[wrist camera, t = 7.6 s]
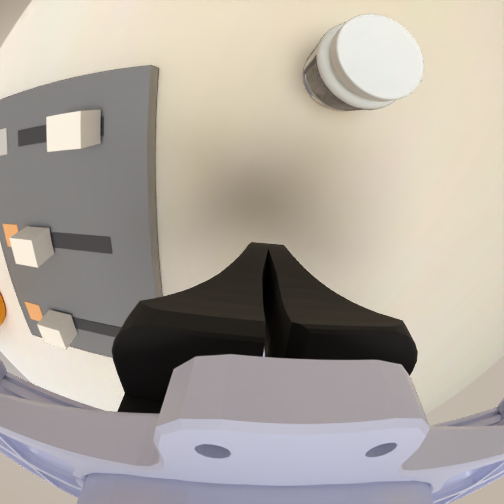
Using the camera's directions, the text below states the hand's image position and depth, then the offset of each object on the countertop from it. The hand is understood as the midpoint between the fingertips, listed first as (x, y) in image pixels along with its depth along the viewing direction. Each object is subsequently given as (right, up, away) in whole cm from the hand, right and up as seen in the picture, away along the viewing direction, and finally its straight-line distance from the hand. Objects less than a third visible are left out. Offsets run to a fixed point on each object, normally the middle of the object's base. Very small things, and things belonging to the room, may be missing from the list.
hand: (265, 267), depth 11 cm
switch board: (-17, +2, +11) cm, 20 cm away
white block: (-19, -6, +13) cm, 24 cm away
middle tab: (-19, +2, +9) cm, 21 cm away
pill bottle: (+5, +12, +5) cm, 14 cm away
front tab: (-12, +9, +5) cm, 16 cm away
